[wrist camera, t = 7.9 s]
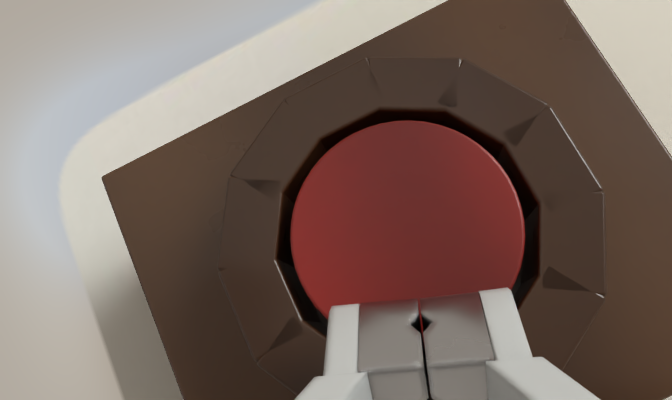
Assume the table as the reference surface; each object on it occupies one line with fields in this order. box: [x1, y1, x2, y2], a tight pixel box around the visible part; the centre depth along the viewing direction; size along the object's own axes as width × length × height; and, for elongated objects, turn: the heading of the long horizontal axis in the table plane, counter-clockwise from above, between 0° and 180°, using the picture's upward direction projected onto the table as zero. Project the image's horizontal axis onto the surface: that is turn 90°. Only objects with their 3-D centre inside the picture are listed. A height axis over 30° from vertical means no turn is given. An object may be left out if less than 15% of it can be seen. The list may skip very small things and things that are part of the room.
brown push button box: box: [102, 0, 672, 400], centre depth 15 cm, size 12×10×8 cm
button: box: [290, 120, 525, 350], centre depth 12 cm, size 4×4×2 cm
